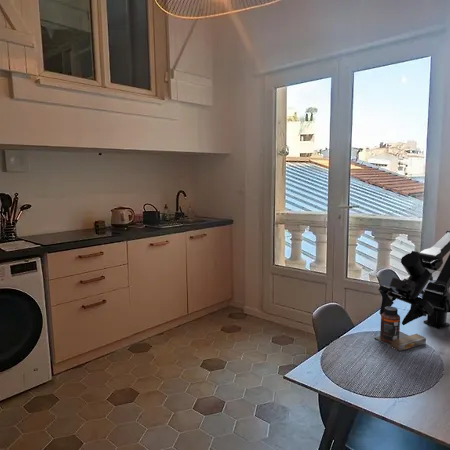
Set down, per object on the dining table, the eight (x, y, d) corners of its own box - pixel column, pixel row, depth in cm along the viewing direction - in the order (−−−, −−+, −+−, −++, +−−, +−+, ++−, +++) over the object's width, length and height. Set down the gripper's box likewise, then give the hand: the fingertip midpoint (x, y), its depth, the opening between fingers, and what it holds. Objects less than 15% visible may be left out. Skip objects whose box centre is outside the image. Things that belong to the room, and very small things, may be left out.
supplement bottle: (400, 344, 125) (402, 312, 123) (381, 343, 126) (383, 310, 124) (396, 336, 131) (398, 305, 129) (378, 335, 132) (380, 304, 130)
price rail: (416, 339, 129) (416, 333, 129) (426, 344, 125) (426, 338, 125) (390, 347, 124) (391, 340, 124) (400, 352, 120) (401, 345, 120)
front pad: (399, 331, 135) (399, 330, 135) (416, 339, 129) (416, 338, 129) (374, 338, 130) (374, 337, 130) (390, 347, 124) (390, 346, 124)
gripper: (383, 263, 135) (358, 297, 133) (430, 276, 119) (403, 315, 116) (397, 280, 140) (374, 314, 137) (445, 296, 123) (419, 334, 120)
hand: (391, 319), depth 127 cm, fingers open, 9 cm apart
